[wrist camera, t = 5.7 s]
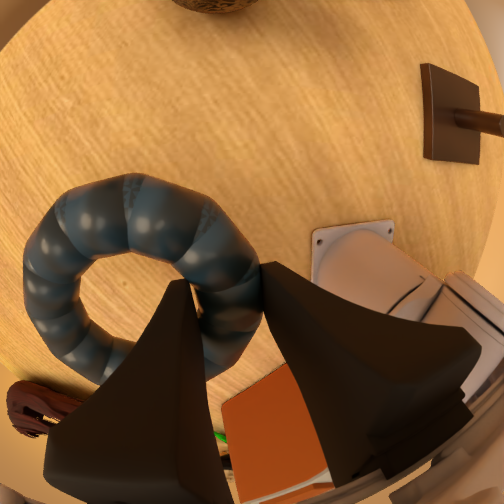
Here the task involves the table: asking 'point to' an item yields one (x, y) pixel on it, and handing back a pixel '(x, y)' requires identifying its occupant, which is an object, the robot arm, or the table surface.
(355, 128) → the table surface
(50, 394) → the wig
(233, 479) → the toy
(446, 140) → the peg stand
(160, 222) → the ring
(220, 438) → the leaf
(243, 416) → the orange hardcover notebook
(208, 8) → the cup
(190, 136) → the table surface
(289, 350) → the robot arm
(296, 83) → the table surface
